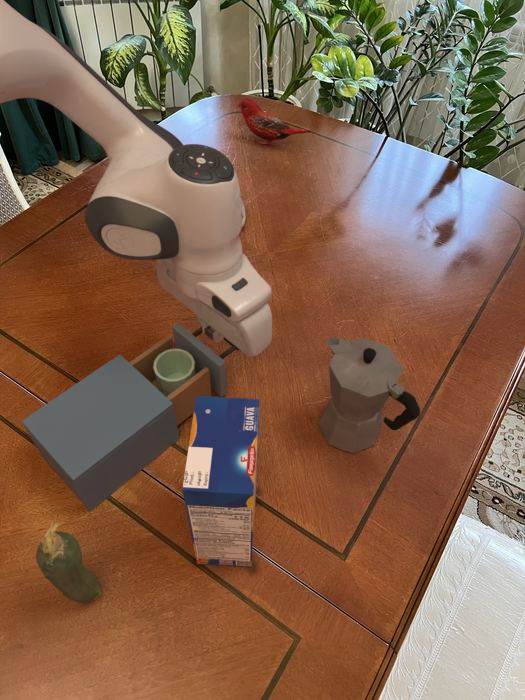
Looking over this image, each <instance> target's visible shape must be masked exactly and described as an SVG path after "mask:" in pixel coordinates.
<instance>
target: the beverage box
mask: <svg viewBox="0 0 525 700" xmlns="http://www.w3.org/2000/svg"><path fill="white" fill-rule="evenodd" d="M211 396H212V395H211ZM211 396H196V401H195V408H194V413H193V414H192V421H191V422H192V423H191V428H190V435H189V442H188V449H187V454H186V463H185V469H184V475H183V476H184V477H183V484H182V490H181V491H182V495H183V500H184V505H185V510H186V515H187V520H188V525H189V529H190V535H191V539H192V540H191V541H192V545H193V550H194V555H195V560H196V564H197V565H206V566H207V565H208V566H224V567H237V568H238V567H239V568H252V564H253V548H254V547H253V546H254V533H255V531H254V530H255V516H256V515H255V513H256V499H257V498H256V497H257V482H258V481H257V480H258V451H259V450H258V449H259V427H260V424H259V423H260V398H244V397H229V396H227V397H226V396H222V397H221V396H212V397H211Z"/></svg>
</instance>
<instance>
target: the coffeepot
mask: <svg viewBox="0 0 525 700" xmlns="http://www.w3.org/2000/svg"><path fill="white" fill-rule="evenodd" d="M325 343H326V345H327V347H328V348H329V349H330V350H331V353H332V355H333V357H332V359H331V360H330V362H329V365H328V366H329V387H330V389H329V390H330V396H331V397H330V398H329V401H328V402H327V404H326V406H325V409H324V411H323V413H322V415H321V418H320V419H319V422H318V427H319V429H320V430H321V433H322V436H323V437H324V439H325V440H326V442H327V444H328V445H330V446H331V447H333V448H335V447H336V449H337V448H338V449H337V450H339V449H340V451H342V450H343V451H342V452H346V451H347V453H350V454H355V453H358V451H359V452H363V451H365V450H367V449H369V448H372V447H374V446H375V444H376V441H377V438H378V435H379V433H380V430H381V428H382V412H383V411H382V408H383V407H384V406H385V404H386V402H387V401H388V400H389V398H390V397H391V398H392V399H394V401H397V402H398V403H400V404H401V405H403V406H404V410H403V411H402V412H401V414H398V415H397V416H395V417H394V419H393V420H392V419H390V418H388V417H387V416H385V417H384V418H383V423H384V424H385V425H386V426H387V427H388V428H389V429H390V430H392V431H398V430H399V429H402V428H403V427H405V426H407V425H408V424H410V423H411V422H413V421H415V420H416V419H418V417H420V414H421V408H420V406H419V403H418V400H417V399H416V397H415V396H414V395H413V394H411V393H409V392H408V391H406V388H405V386H404V385H402V384H400V383H399V379H400V377H401V374H402V371H403V365H402V364H401V362H400V361H399V360H398V358H397V356H396V354H395V353H394V352H393V350H392V349H391V347H390V346H388V345H384V344H382V343H379V342H377V341H373V340H370V339H369V338H364V337H362V338H359V339H355V340H352V341H349V340H346V339H344V338H341V337H337V336H332V337H329V338H328V339H326V341H325ZM364 449H365V450H364ZM362 450H363V451H362Z"/></svg>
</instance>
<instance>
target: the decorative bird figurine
mask: <svg viewBox="0 0 525 700" xmlns="http://www.w3.org/2000/svg"><path fill="white" fill-rule="evenodd" d="M236 106H237V107H239V109H240V111H241V114H242V116H243V119H244V122H245V124H246V126H247V128H248V129H249V131H250V132H251V133H253V134H254V135H255V136H256V137H257V138H259V139H262V140H256V139H253V141H254V142H256V143H258V144H259V145H262V146H263V145H264V146H269V147H275V145H274V144H273V143H272V142H273V141H278V140H284V139H287V138H288V137H290V136H293V135H297V134H305V133H307V134H308V133H311V132H312V130H310V129H301V128H292V127H290V126H289V125H288V124H286V123H285V122H283V121H282V120H280V119H278V118H277V117H275V116H273V115H272V114H269V113H268V112H266V111H265V110H264V109H262V108H261V107H260V106H259V105H258V104H257V102H256V101H254V100H252V99H251V98H248V97H245V98H243V99H242V100H241V101H240V103H238V104H237V105H236ZM264 140H265V141H264Z"/></svg>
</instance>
